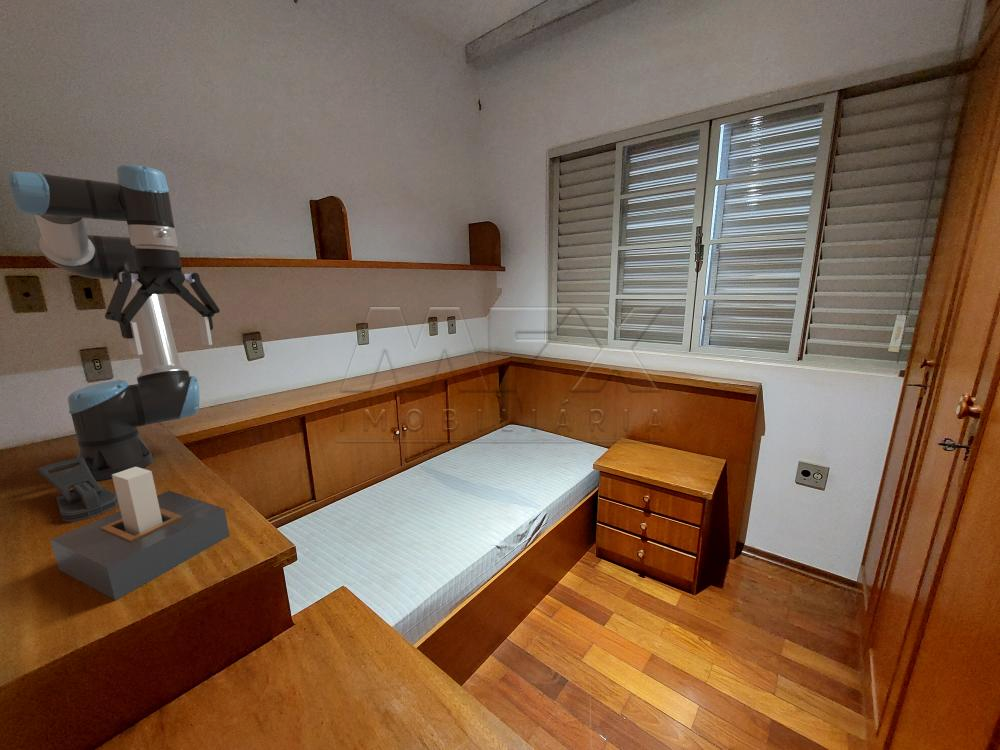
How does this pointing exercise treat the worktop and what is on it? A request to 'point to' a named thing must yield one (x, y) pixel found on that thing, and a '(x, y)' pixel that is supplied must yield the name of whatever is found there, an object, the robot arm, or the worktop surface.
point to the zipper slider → (78, 491)
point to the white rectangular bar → (137, 499)
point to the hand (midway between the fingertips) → (174, 349)
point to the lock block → (139, 545)
